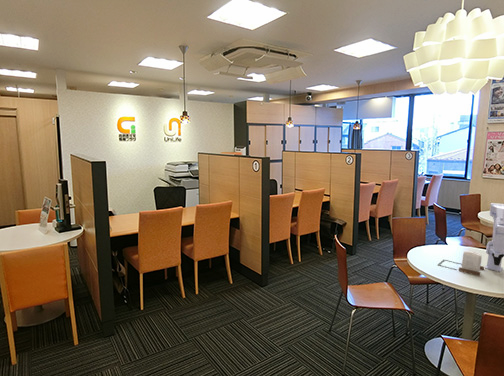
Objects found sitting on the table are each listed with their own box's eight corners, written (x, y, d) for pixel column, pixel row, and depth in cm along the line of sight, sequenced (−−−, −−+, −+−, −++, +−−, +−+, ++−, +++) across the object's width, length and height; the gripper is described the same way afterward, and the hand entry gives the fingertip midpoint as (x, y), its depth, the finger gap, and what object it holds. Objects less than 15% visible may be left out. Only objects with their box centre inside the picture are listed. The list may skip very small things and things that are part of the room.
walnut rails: (464, 264, 211) (464, 262, 210) (483, 269, 203) (484, 266, 202) (458, 270, 201) (459, 267, 201) (479, 275, 193) (479, 272, 193)
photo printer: (481, 272, 199) (483, 253, 197) (477, 273, 197) (480, 255, 195) (463, 266, 208) (465, 249, 206) (460, 267, 205) (462, 250, 204)
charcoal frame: (443, 259, 220) (443, 259, 220) (462, 264, 211) (462, 264, 211) (437, 265, 210) (437, 264, 210) (456, 270, 201) (456, 269, 201)
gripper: (493, 240, 198) (490, 260, 200) (489, 245, 188) (486, 266, 190) (507, 242, 193) (504, 263, 194) (503, 248, 183) (500, 269, 185)
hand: (496, 265), depth 192 cm, fingers closed
